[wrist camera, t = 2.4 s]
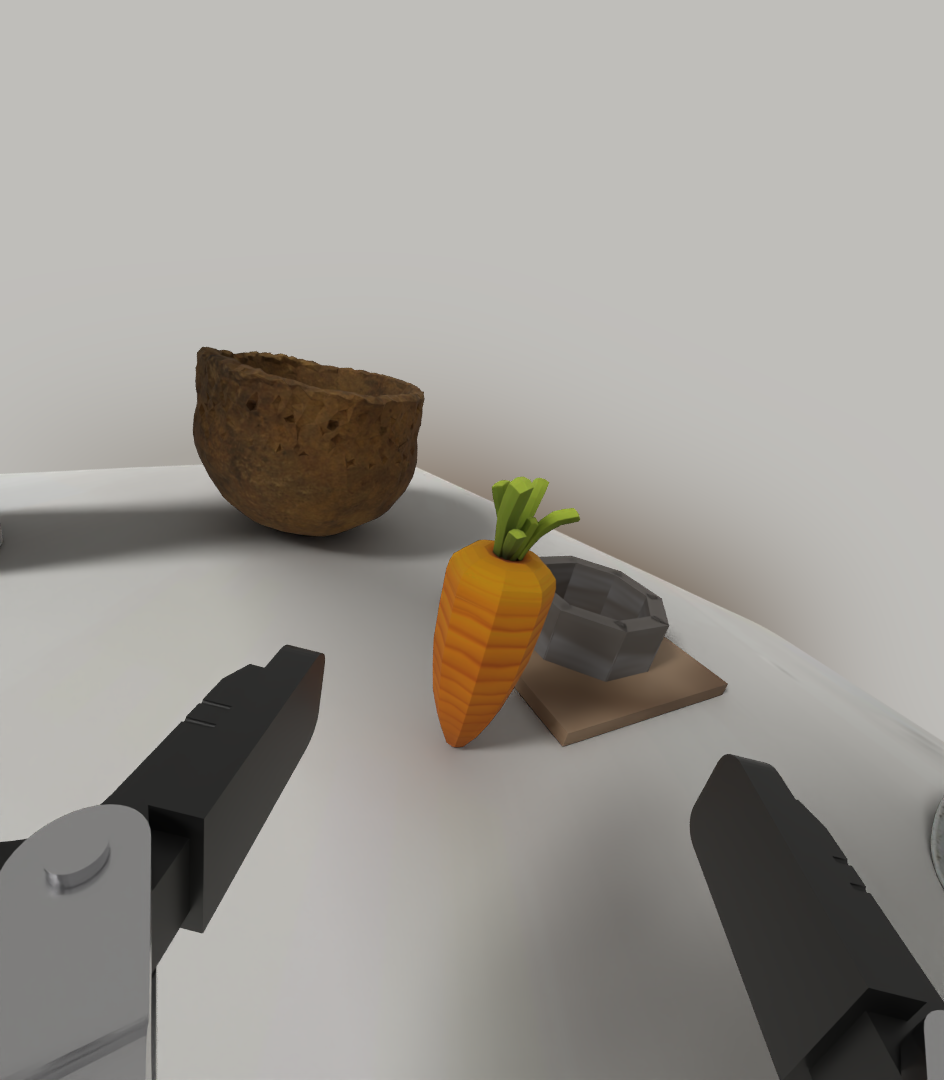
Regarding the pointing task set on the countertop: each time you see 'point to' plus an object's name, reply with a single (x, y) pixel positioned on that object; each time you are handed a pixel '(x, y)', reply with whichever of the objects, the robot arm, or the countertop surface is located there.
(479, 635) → the carrot
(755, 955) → the robot arm
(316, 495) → the bowl
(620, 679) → the ring holder
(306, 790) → the countertop surface
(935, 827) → the ceramic mug
